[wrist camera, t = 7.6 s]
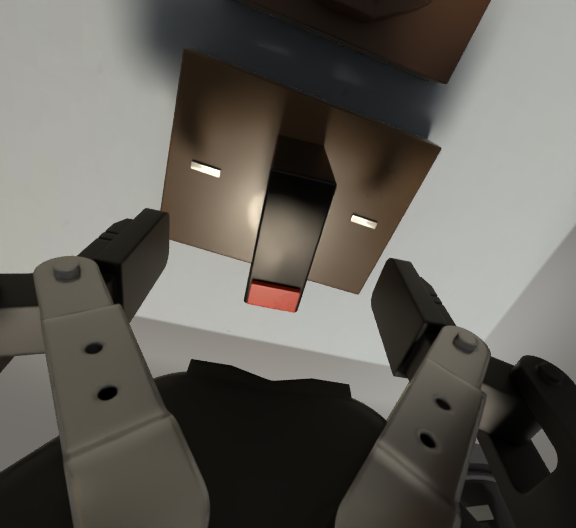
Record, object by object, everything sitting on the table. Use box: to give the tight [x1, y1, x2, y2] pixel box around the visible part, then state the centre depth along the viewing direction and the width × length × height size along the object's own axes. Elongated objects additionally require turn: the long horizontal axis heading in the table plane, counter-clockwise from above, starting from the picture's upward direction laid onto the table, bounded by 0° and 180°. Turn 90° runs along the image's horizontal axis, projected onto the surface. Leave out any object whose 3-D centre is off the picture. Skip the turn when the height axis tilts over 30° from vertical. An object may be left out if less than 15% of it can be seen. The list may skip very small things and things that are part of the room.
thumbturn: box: [244, 135, 337, 312], centre depth 14 cm, size 6×2×6 cm, turn 167°
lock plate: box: [160, 49, 441, 294], centre depth 17 cm, size 12×9×2 cm
